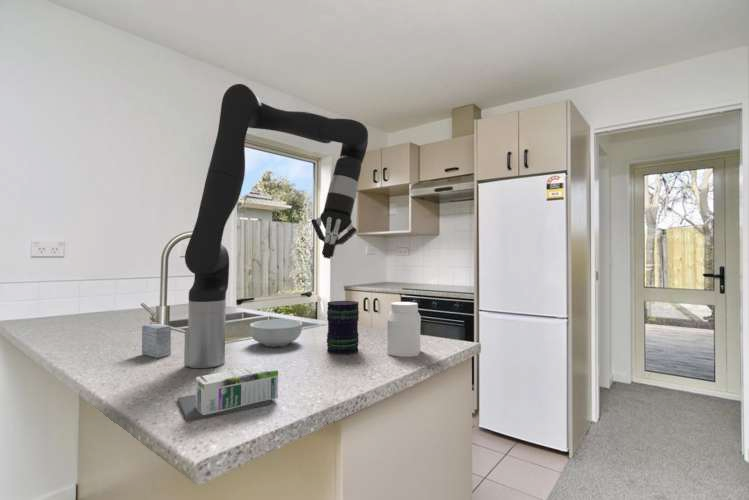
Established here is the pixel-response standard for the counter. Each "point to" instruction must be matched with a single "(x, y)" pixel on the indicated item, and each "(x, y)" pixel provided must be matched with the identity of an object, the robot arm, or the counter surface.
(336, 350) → the storage jar
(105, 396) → the counter surface
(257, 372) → the syrup box
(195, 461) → the counter surface
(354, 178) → the robot arm
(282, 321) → the cereal bowl
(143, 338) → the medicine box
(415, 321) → the jar
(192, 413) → the mat
